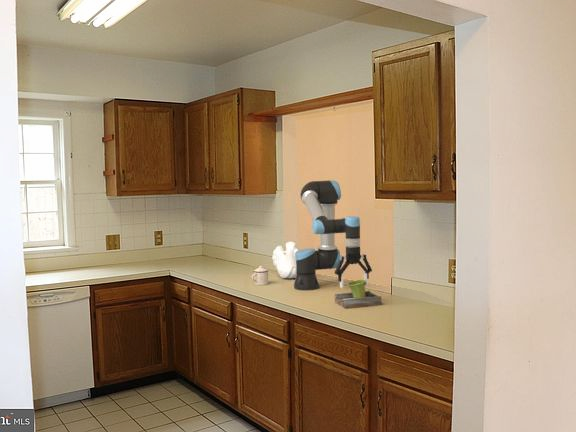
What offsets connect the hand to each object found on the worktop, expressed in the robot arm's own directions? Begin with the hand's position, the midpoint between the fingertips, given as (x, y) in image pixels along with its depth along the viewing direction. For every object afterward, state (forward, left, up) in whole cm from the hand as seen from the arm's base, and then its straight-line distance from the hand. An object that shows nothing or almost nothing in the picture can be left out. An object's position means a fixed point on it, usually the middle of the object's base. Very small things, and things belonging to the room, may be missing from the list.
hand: (353, 286), depth 282 cm
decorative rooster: (-87, -11, -10) cm, 88 cm away
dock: (0, +2, -9) cm, 10 cm away
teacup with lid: (-72, -34, -10) cm, 80 cm away
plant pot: (0, +3, -7) cm, 8 cm away
